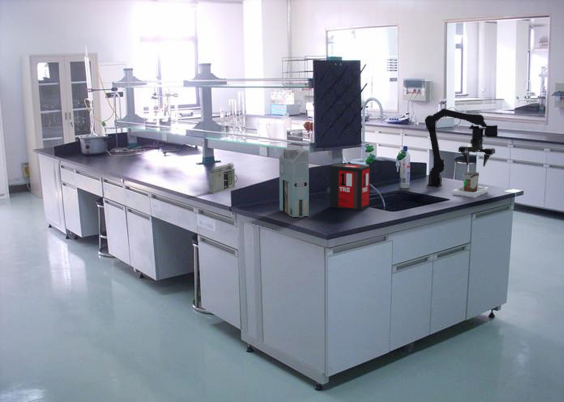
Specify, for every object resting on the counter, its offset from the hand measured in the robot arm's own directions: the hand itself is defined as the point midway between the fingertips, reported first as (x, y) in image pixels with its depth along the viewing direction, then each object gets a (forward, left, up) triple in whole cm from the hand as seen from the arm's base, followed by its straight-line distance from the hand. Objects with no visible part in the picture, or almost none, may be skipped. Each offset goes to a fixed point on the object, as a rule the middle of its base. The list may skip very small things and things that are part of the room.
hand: (475, 165), depth 347 cm
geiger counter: (-109, -85, -12) cm, 139 cm away
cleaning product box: (-29, -82, -12) cm, 88 cm away
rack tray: (+5, -18, -12) cm, 22 cm away
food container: (+4, -18, -12) cm, 22 cm away
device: (-43, -109, -12) cm, 118 cm away
